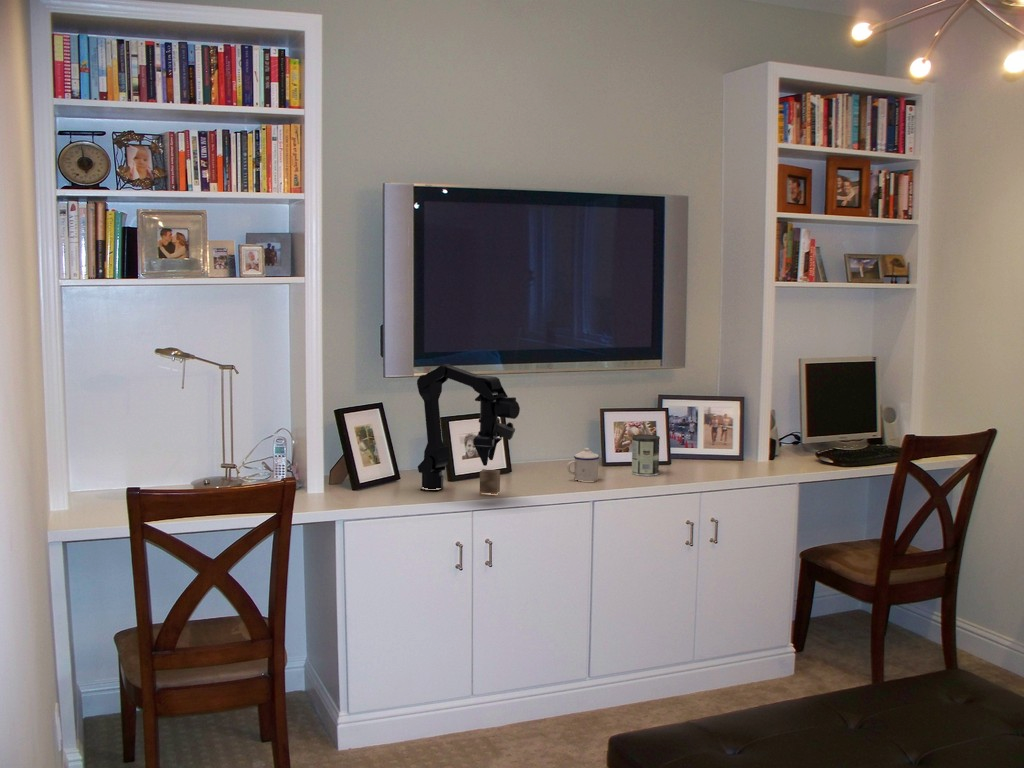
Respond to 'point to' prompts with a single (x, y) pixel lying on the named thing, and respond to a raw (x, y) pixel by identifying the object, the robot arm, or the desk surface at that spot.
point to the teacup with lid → (585, 466)
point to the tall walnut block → (489, 481)
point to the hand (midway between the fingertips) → (488, 462)
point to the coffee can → (645, 455)
